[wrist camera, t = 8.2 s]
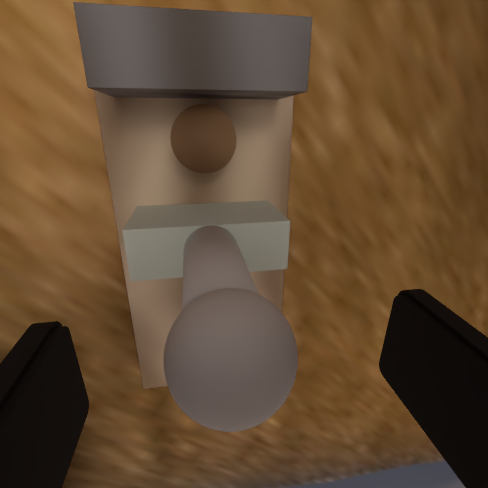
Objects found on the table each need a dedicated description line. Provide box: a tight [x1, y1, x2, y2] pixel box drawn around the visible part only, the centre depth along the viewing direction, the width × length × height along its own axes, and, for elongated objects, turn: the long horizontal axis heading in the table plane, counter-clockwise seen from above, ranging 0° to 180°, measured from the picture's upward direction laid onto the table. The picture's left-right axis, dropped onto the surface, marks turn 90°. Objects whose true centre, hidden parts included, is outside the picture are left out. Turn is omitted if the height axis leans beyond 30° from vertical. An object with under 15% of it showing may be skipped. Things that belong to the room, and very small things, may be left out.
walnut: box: [170, 104, 236, 174], centre depth 18 cm, size 4×4×3 cm
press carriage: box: [122, 201, 298, 432], centre depth 14 cm, size 9×4×15 cm, turn 90°
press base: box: [73, 2, 312, 389], centre depth 20 cm, size 12×26×7 cm, turn 0°
